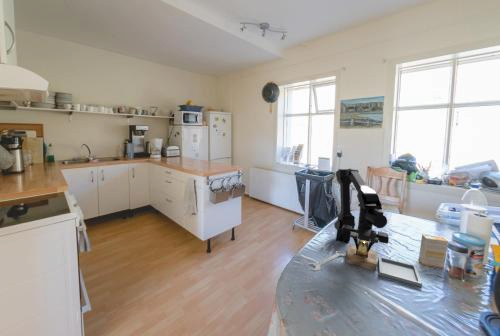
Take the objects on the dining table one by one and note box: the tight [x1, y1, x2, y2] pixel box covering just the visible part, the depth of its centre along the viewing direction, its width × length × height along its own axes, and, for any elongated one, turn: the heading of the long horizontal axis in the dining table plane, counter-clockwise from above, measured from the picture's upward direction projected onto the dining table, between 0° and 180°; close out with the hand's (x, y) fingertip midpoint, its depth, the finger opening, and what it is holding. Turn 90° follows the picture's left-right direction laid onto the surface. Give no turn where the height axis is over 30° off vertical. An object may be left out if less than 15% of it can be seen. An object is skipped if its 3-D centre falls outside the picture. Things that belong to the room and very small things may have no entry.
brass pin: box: [357, 239, 369, 258], centre depth 102 cm, size 4×4×9 cm
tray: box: [377, 255, 423, 289], centre depth 93 cm, size 14×14×2 cm
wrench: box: [307, 250, 347, 272], centre depth 101 cm, size 25×2×5 cm
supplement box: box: [418, 233, 449, 269], centre depth 100 cm, size 8×5×13 cm, turn 71°
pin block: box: [345, 244, 378, 271], centre depth 102 cm, size 12×12×3 cm
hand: (362, 250), depth 102 cm, fingers closed on brass pin, 4 cm apart
